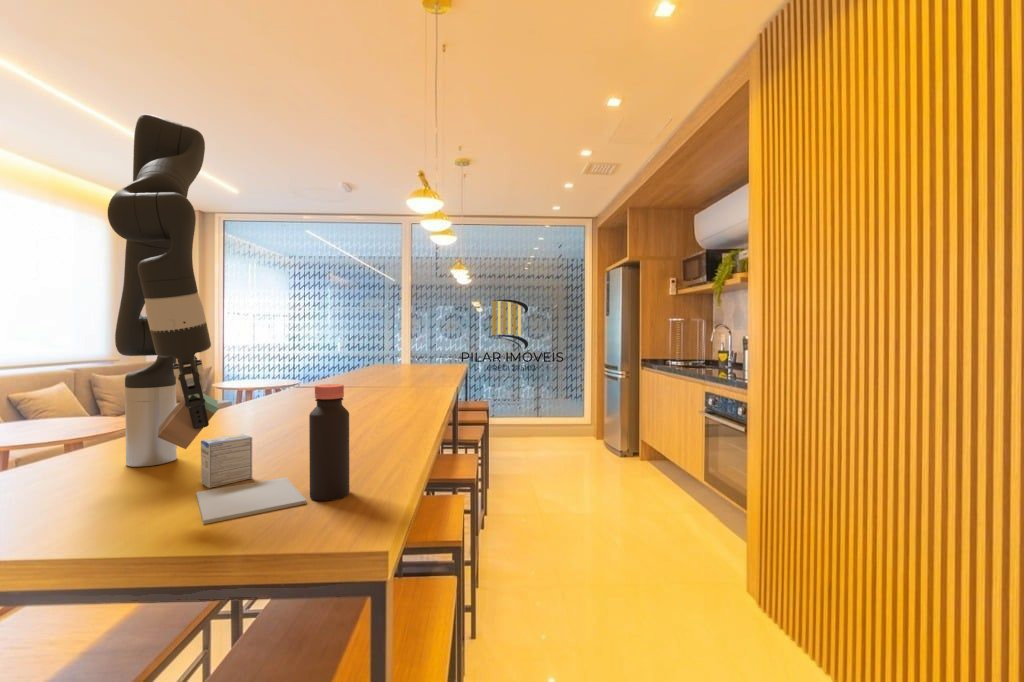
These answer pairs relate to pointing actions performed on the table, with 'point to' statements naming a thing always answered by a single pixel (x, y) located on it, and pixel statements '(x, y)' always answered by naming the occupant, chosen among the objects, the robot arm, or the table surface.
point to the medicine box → (226, 460)
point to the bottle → (329, 444)
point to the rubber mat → (247, 499)
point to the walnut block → (184, 422)
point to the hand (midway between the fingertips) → (200, 422)
